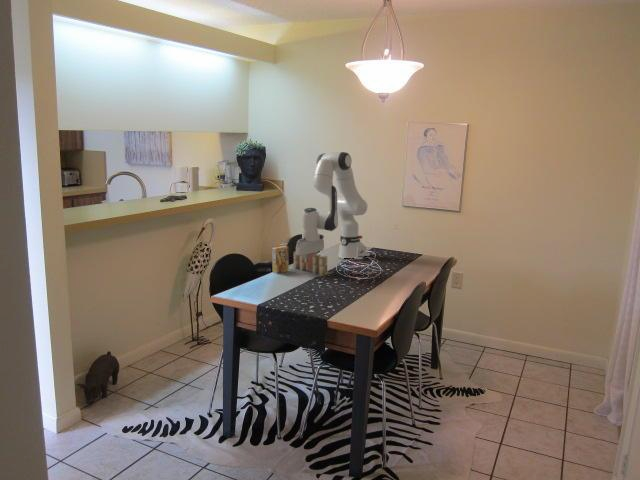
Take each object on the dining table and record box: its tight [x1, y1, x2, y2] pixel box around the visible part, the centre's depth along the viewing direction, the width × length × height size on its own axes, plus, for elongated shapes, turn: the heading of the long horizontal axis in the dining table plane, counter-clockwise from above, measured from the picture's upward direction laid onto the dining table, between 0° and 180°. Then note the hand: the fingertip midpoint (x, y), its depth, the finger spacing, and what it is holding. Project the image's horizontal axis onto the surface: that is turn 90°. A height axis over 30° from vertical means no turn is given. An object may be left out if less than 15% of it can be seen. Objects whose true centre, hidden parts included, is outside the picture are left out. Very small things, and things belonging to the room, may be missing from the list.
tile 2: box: [300, 256, 306, 271], centre depth 296 cm, size 5×2×10 cm, turn 138°
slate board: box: [289, 267, 333, 278], centre depth 294 cm, size 12×24×1 cm, turn 48°
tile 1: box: [293, 251, 300, 269], centre depth 300 cm, size 5×2×10 cm, turn 138°
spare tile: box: [306, 253, 314, 270], centre depth 293 cm, size 5×2×10 cm, turn 138°
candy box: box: [271, 245, 290, 274], centre depth 292 cm, size 9×4×15 cm, turn 130°
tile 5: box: [319, 255, 328, 276], centre depth 287 cm, size 5×2×10 cm, turn 138°
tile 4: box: [313, 254, 322, 274], centre depth 290 cm, size 5×2×10 cm, turn 138°
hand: (310, 260), depth 293 cm, fingers closed on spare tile, 5 cm apart
